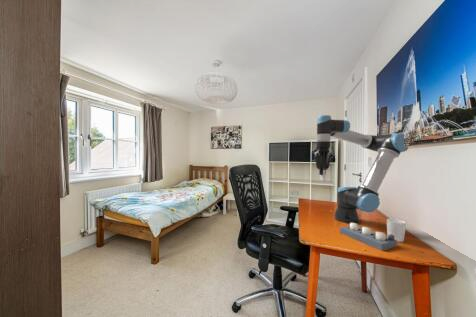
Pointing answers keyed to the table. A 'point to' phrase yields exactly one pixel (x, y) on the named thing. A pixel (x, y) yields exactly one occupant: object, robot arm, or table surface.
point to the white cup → (396, 229)
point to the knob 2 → (380, 236)
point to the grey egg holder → (370, 238)
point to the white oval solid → (366, 231)
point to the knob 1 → (354, 226)
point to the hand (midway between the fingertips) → (322, 180)
